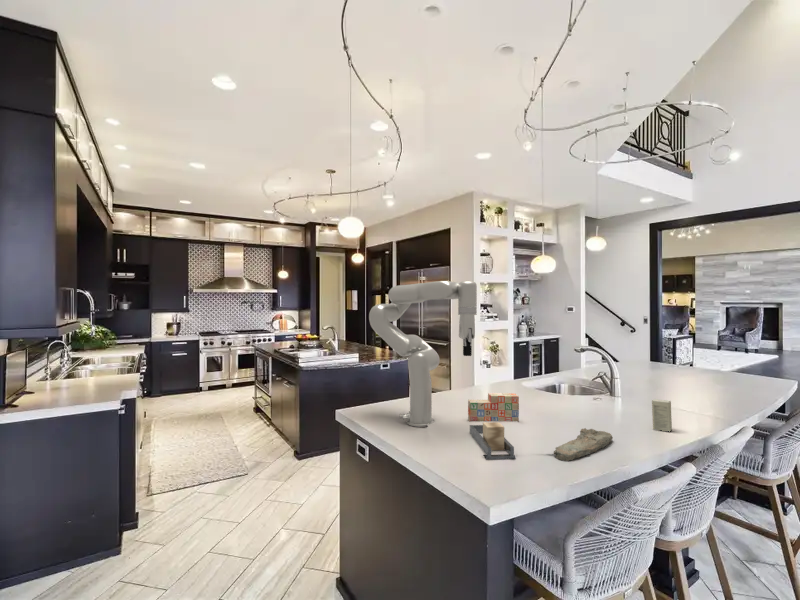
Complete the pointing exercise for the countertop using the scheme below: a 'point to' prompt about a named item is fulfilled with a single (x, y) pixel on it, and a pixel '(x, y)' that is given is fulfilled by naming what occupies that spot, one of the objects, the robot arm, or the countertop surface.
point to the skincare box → (661, 415)
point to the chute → (475, 432)
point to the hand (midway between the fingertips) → (467, 355)
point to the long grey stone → (583, 444)
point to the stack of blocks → (495, 408)
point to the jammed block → (494, 435)
